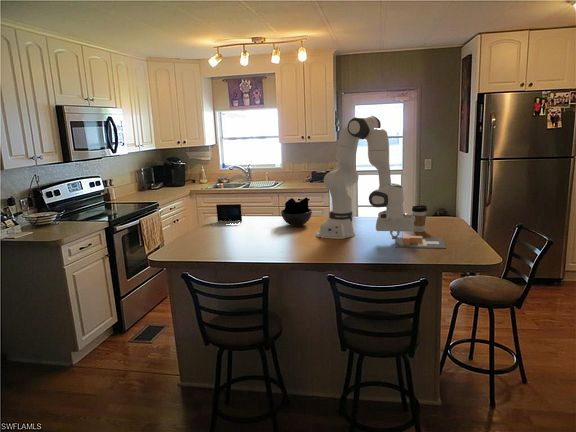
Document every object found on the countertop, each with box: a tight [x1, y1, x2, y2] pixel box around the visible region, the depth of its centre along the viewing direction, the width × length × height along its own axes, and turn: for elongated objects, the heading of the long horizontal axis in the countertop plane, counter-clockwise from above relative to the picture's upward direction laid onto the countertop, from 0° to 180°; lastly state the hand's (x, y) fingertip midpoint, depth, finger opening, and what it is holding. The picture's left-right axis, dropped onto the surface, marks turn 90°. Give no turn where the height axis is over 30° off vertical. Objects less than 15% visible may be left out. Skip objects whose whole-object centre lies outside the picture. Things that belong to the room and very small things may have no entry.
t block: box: [402, 233, 423, 245], centre depth 226 cm, size 10×11×3 cm
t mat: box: [394, 236, 447, 250], centre depth 226 cm, size 25×18×1 cm
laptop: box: [211, 203, 243, 227], centre depth 290 cm, size 18×12×13 cm
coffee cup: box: [411, 204, 428, 233], centre depth 249 cm, size 8×8×15 cm
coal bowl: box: [280, 196, 313, 227], centre depth 275 cm, size 20×20×19 cm
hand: (394, 238), depth 228 cm, fingers closed
